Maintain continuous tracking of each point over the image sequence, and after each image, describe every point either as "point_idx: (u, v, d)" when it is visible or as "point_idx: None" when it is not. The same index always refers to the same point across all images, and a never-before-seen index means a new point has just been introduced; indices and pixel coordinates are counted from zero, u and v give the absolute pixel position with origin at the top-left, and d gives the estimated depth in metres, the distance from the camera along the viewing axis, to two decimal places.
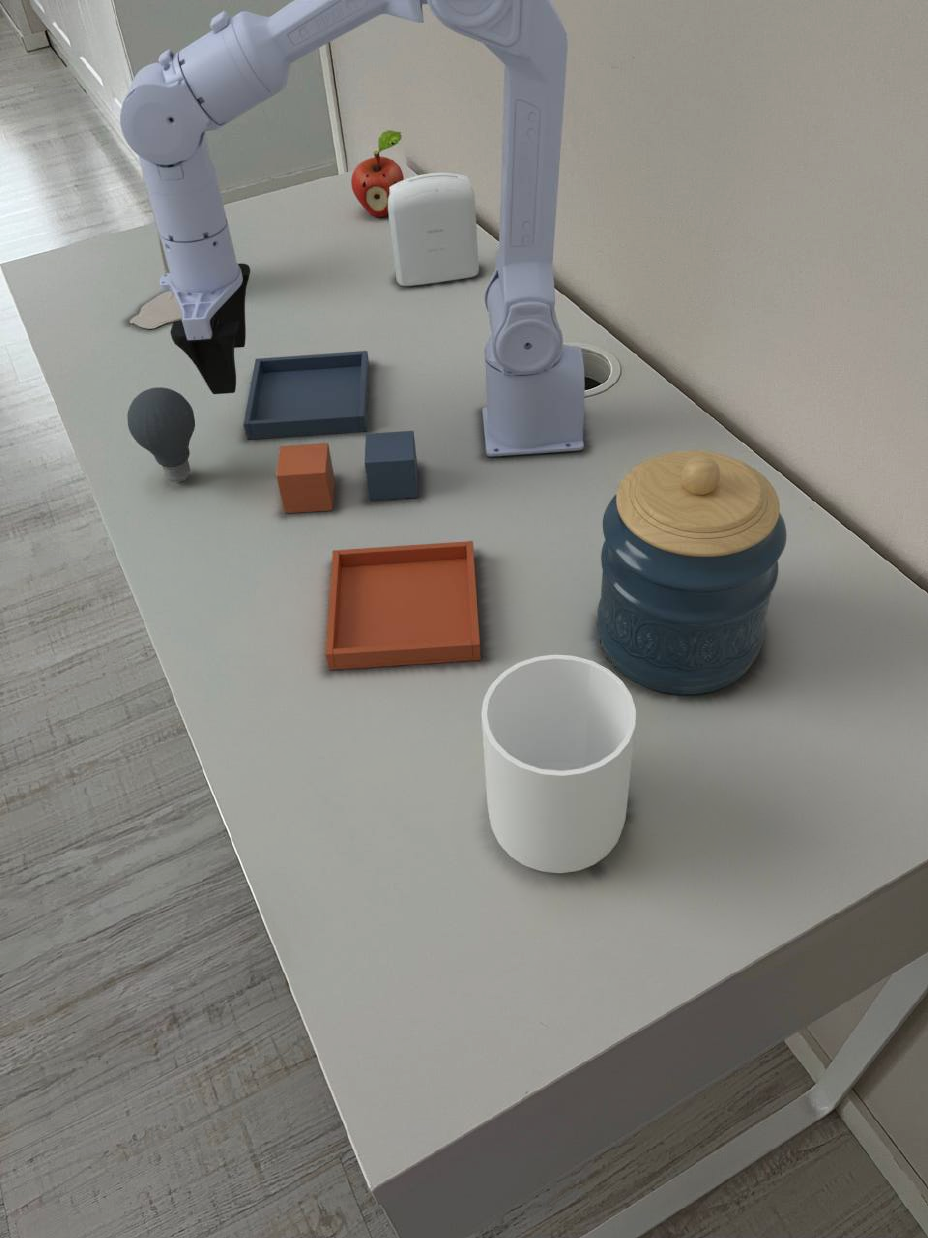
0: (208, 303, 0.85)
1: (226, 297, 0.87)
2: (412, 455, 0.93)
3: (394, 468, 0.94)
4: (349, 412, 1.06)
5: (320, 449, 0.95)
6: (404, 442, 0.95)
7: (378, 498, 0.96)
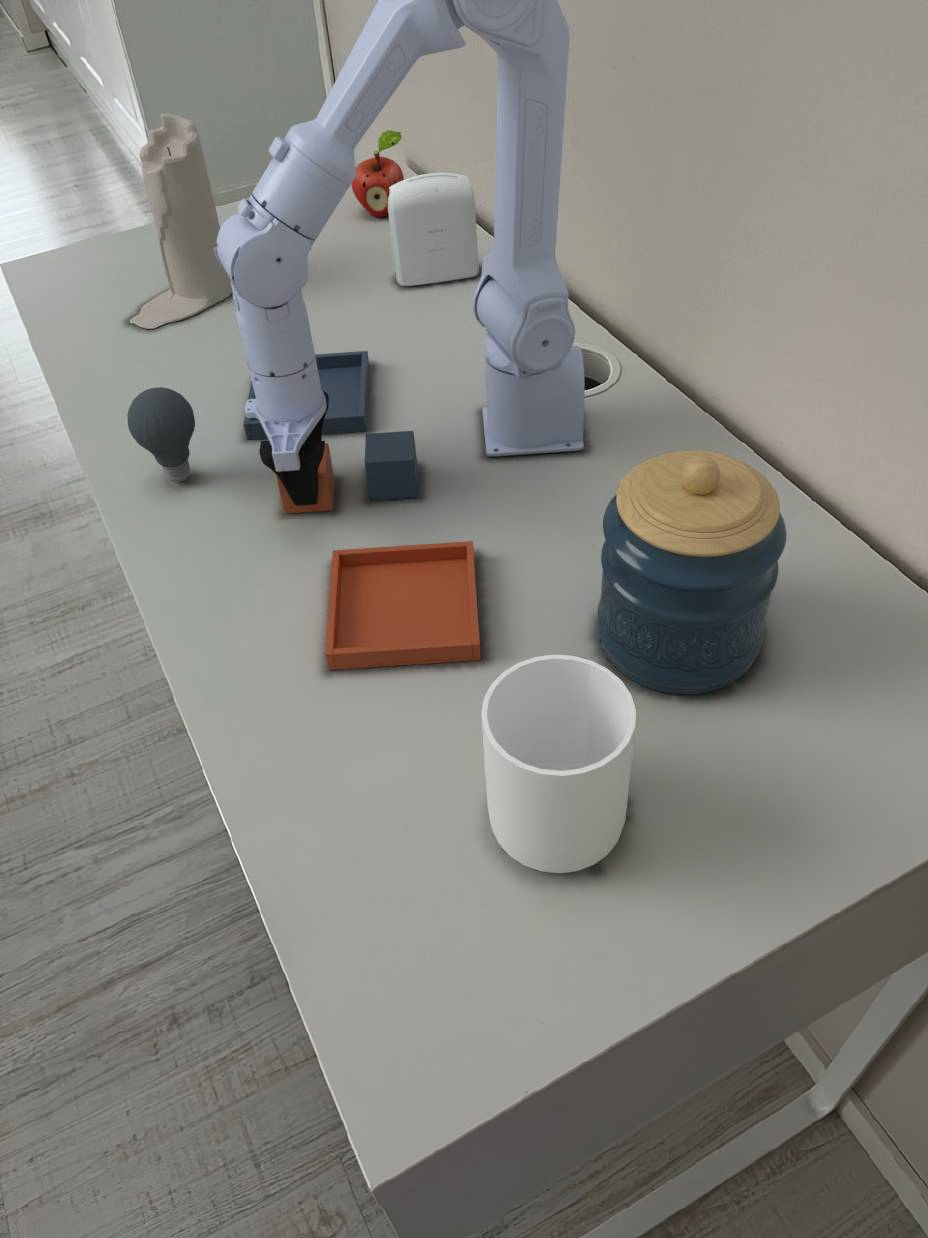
0: (296, 434, 0.86)
1: (312, 427, 0.88)
2: (412, 455, 0.93)
3: (394, 468, 0.94)
4: (349, 412, 1.06)
5: None
6: (404, 442, 0.95)
7: (378, 498, 0.96)
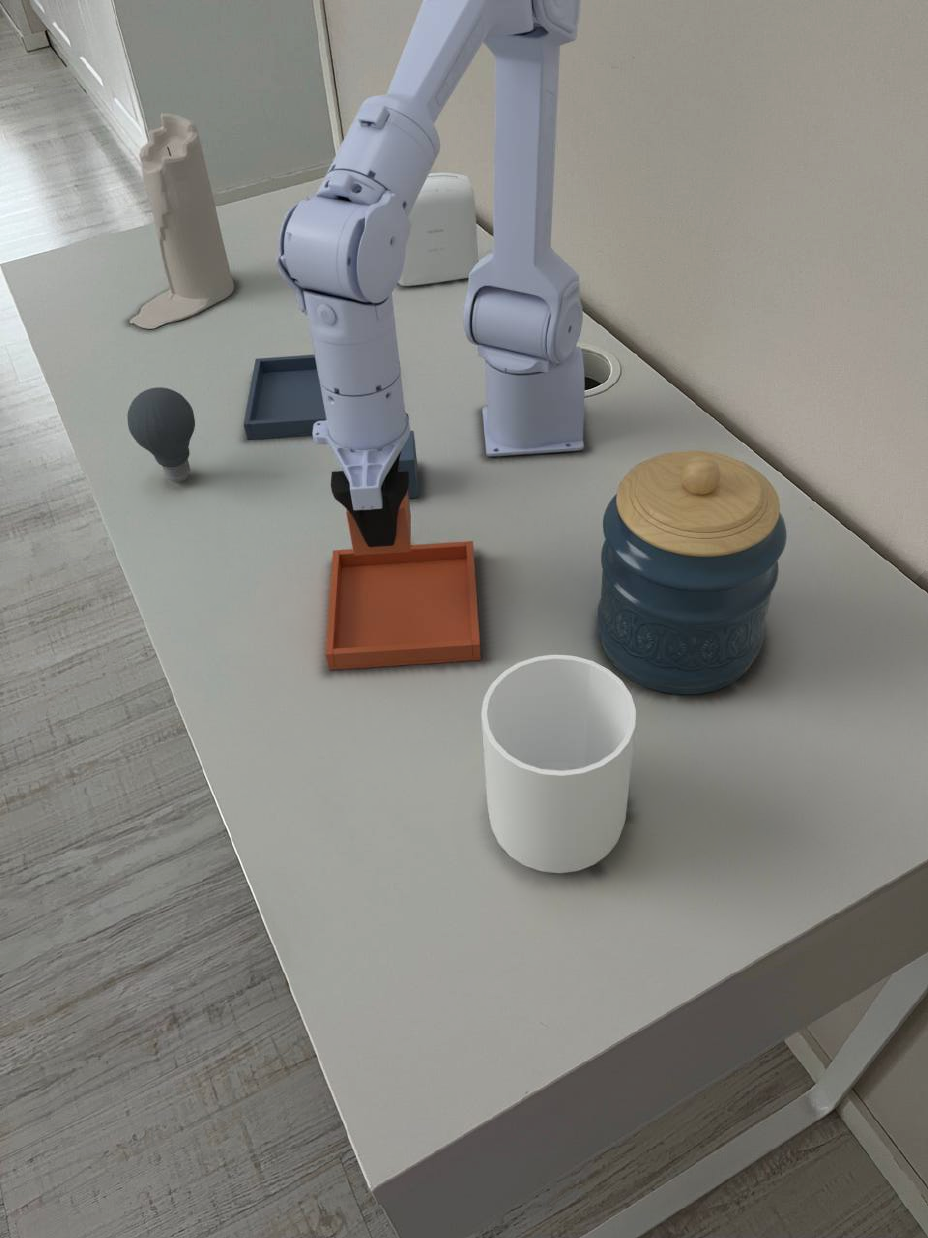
0: (377, 465, 0.71)
1: (396, 455, 0.73)
2: (412, 455, 0.93)
3: None
4: None
5: None
6: None
7: None
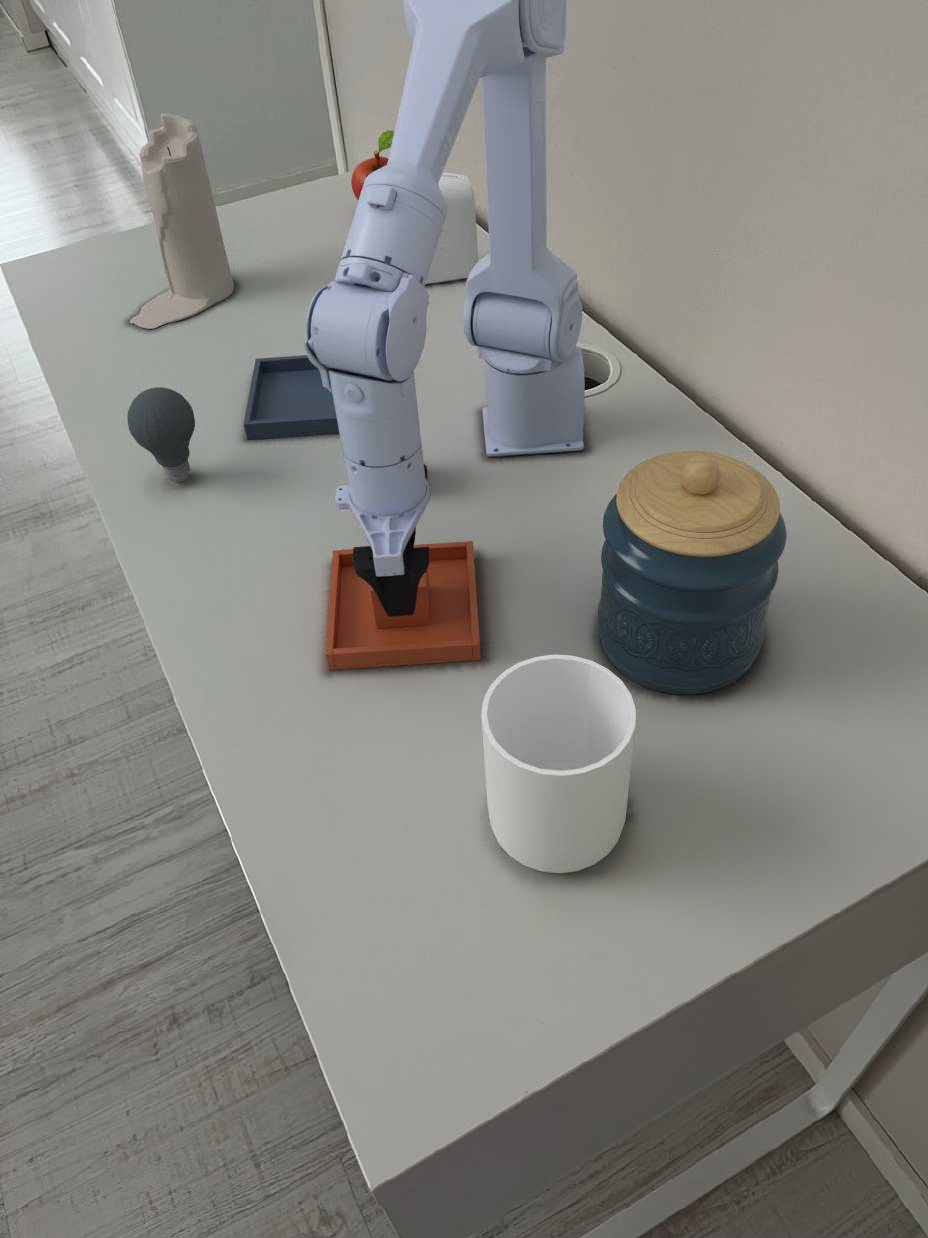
0: (399, 532, 0.73)
1: (417, 521, 0.75)
2: None
3: None
4: None
5: None
6: None
7: None
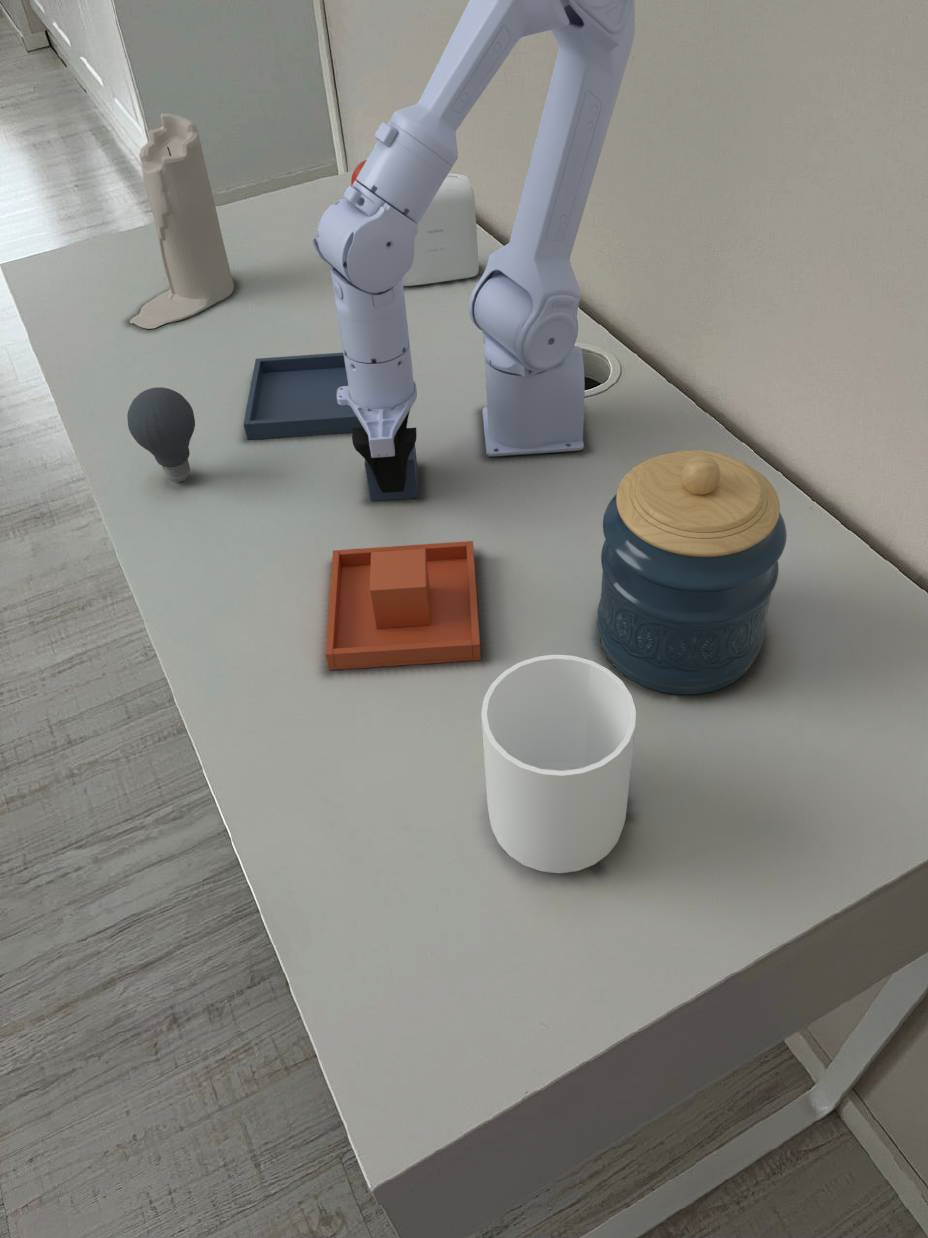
0: (391, 421, 0.87)
1: (406, 413, 0.88)
2: (412, 455, 0.93)
3: None
4: (349, 412, 1.06)
5: (417, 557, 0.83)
6: None
7: (378, 498, 0.96)
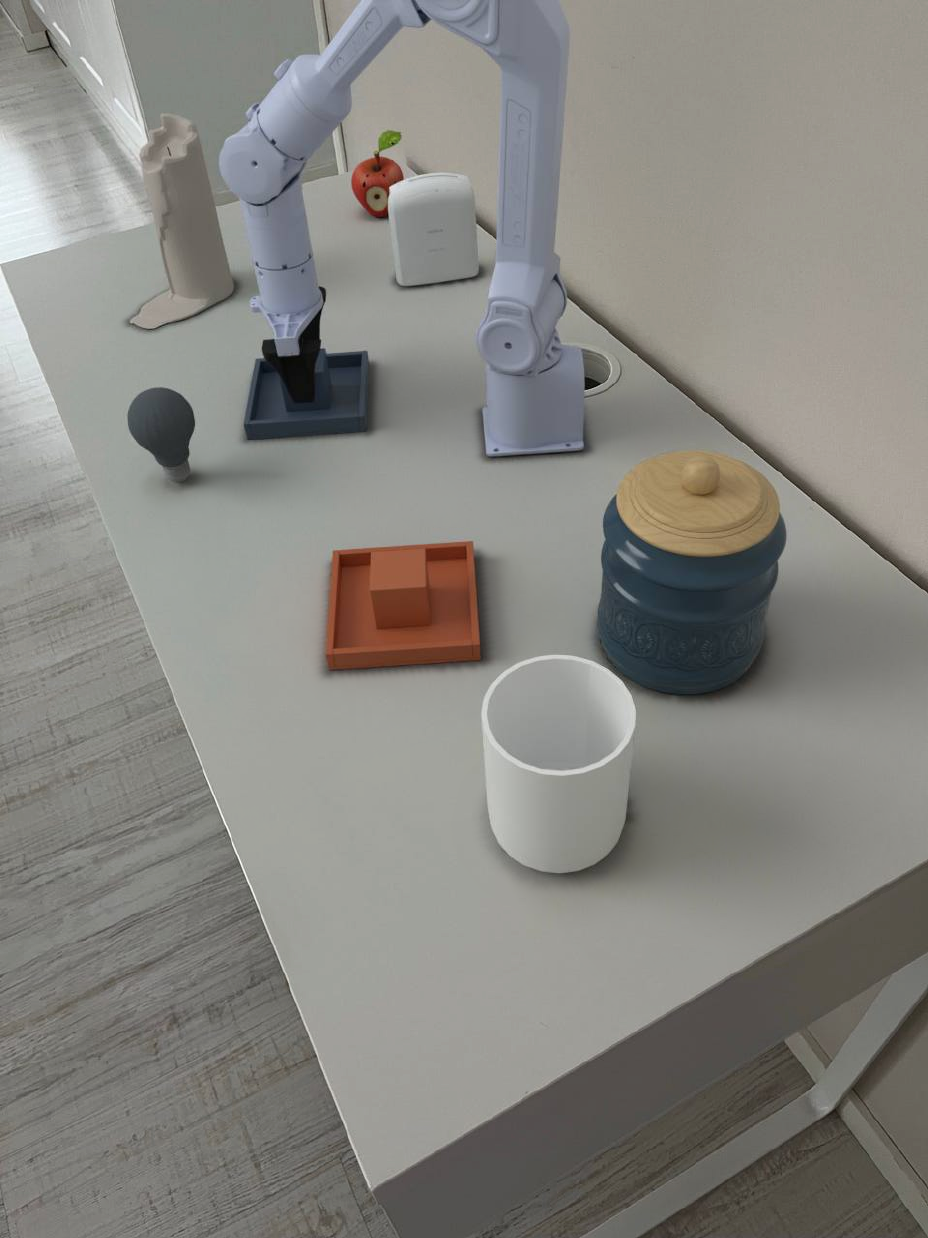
0: (296, 323, 0.96)
1: (310, 318, 0.98)
2: (321, 368, 1.03)
3: None
4: (349, 412, 1.06)
5: (417, 557, 0.83)
6: None
7: (293, 409, 1.06)
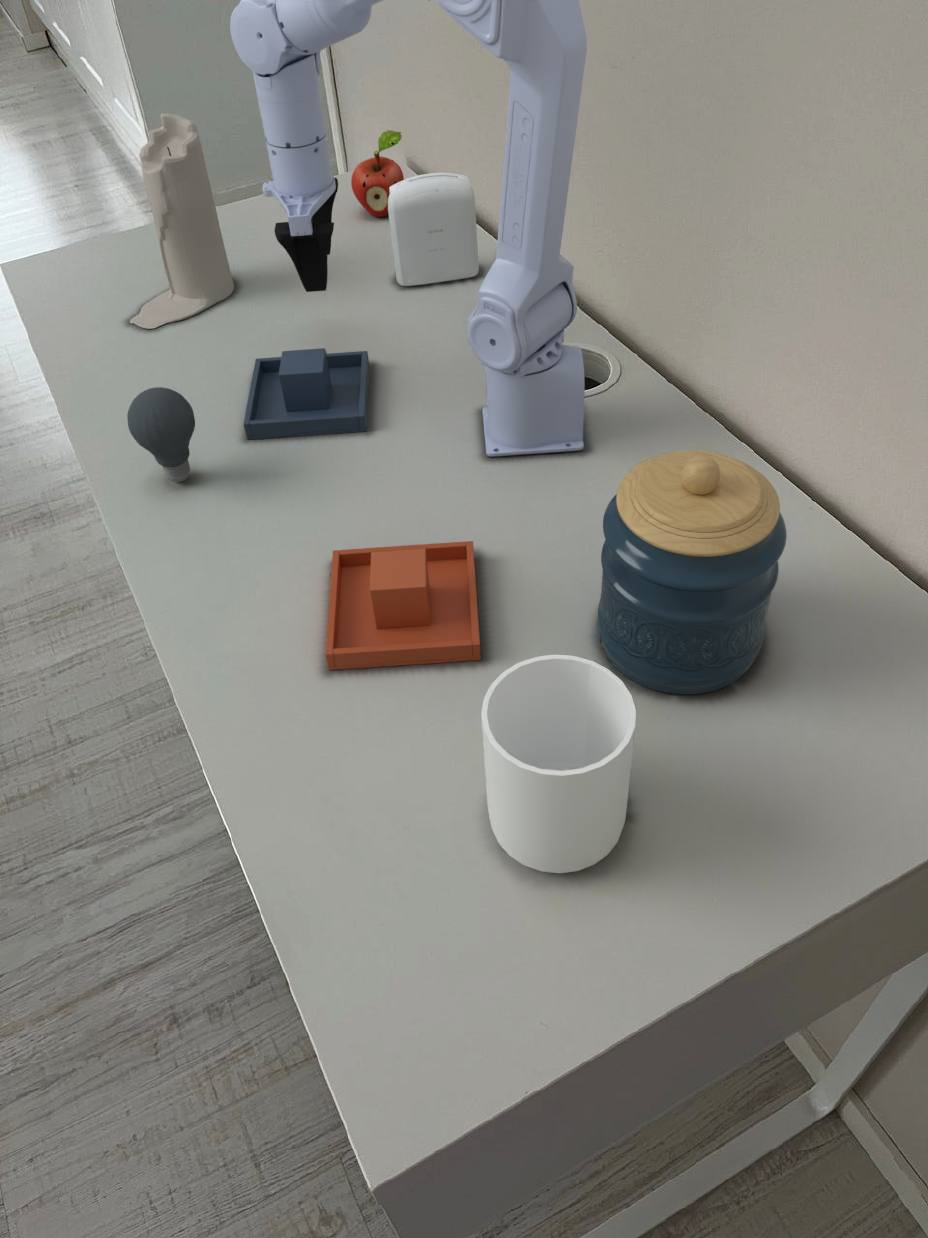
0: (309, 204, 0.96)
1: (323, 200, 0.98)
2: (321, 368, 1.03)
3: (305, 380, 1.04)
4: (349, 412, 1.06)
5: (417, 557, 0.83)
6: (315, 357, 1.05)
7: (293, 409, 1.06)
